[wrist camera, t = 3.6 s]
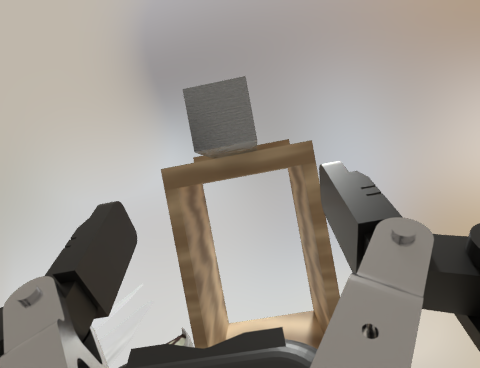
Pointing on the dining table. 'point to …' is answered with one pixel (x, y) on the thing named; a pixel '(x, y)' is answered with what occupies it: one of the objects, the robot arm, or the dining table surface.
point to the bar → (221, 118)
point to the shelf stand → (203, 252)
